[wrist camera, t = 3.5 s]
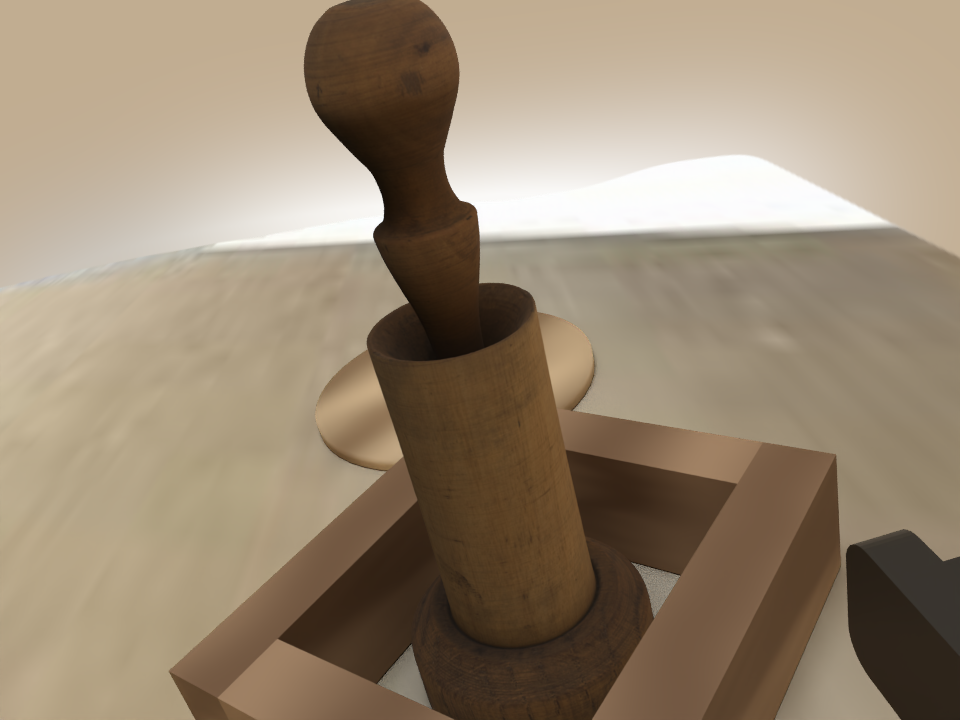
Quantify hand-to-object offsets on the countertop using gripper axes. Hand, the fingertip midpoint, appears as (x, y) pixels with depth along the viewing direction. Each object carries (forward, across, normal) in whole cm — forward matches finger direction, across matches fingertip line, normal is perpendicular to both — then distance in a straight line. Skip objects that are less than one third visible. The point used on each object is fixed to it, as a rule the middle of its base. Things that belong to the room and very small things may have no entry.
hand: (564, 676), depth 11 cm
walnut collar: (+10, 0, +10) cm, 14 cm away
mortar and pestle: (+10, 0, +10) cm, 14 cm away
